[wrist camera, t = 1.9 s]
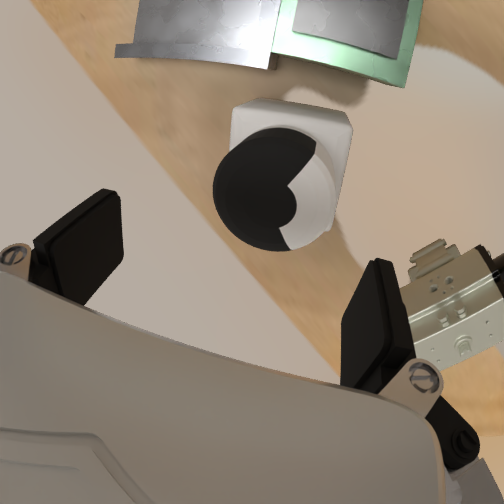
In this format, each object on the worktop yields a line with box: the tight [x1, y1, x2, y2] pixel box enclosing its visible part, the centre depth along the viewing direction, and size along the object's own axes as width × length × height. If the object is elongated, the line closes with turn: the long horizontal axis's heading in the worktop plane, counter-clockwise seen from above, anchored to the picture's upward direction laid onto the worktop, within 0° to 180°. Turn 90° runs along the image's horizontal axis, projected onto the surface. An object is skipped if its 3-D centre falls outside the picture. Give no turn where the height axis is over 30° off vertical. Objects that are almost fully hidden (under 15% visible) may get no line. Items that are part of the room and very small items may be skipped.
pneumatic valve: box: [400, 239, 504, 371], centre depth 21 cm, size 6×12×12 cm, turn 131°
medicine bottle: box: [213, 98, 353, 252], centre depth 19 cm, size 7×7×12 cm
